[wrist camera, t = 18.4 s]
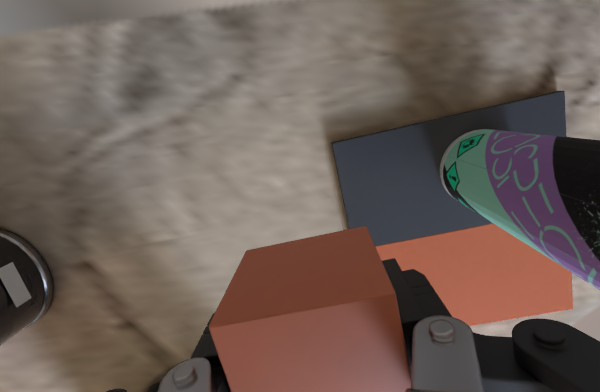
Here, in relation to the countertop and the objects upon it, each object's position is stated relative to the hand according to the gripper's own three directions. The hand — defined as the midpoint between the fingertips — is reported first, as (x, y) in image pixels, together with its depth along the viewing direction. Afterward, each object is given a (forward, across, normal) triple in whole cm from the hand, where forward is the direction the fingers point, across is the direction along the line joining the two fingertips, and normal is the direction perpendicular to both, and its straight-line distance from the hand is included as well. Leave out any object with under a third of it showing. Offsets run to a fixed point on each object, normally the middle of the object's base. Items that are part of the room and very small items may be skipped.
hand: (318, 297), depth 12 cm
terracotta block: (0, 0, 0) cm, 0 cm away
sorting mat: (+14, -10, +5) cm, 18 cm away
